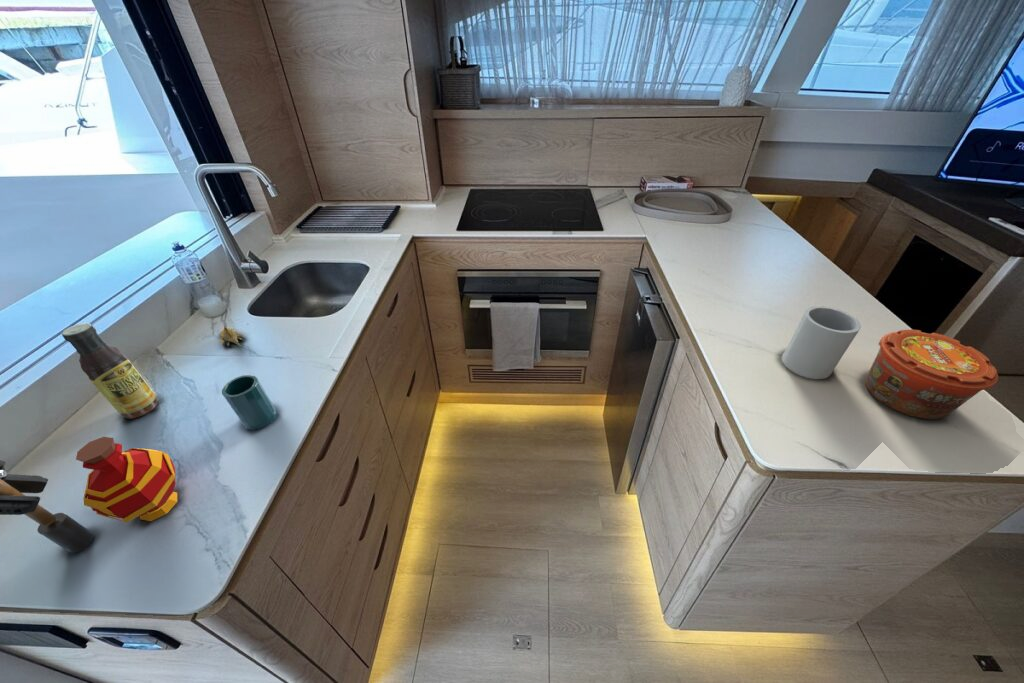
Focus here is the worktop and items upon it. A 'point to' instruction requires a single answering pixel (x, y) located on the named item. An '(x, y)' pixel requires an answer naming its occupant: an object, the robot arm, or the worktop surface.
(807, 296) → the worktop surface
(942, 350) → the food container
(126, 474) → the potion bottle
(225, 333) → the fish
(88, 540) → the stick grenade
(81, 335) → the sauce bottle
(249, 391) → the teal cylindrical holder
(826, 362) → the cup
